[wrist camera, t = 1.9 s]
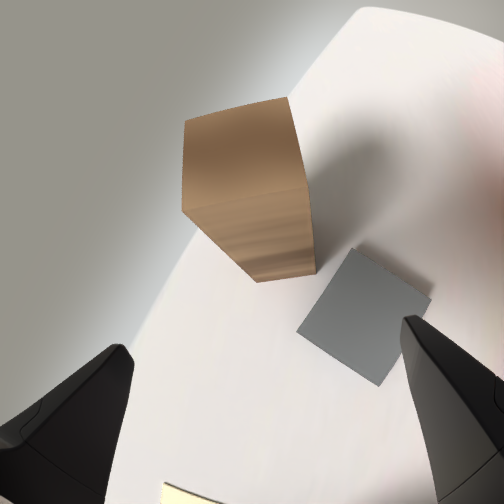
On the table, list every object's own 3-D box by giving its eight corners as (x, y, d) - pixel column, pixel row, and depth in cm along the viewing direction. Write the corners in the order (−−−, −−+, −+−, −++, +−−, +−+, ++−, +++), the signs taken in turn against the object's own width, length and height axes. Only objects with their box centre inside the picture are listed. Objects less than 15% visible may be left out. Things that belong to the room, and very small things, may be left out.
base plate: (424, 302, 19) (431, 299, 18) (374, 383, 18) (378, 386, 17) (350, 253, 21) (352, 247, 20) (297, 332, 21) (295, 331, 19)
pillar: (315, 274, 22) (308, 186, 10) (256, 282, 22) (181, 210, 10) (306, 218, 23) (286, 96, 11) (251, 228, 24) (185, 121, 12)
